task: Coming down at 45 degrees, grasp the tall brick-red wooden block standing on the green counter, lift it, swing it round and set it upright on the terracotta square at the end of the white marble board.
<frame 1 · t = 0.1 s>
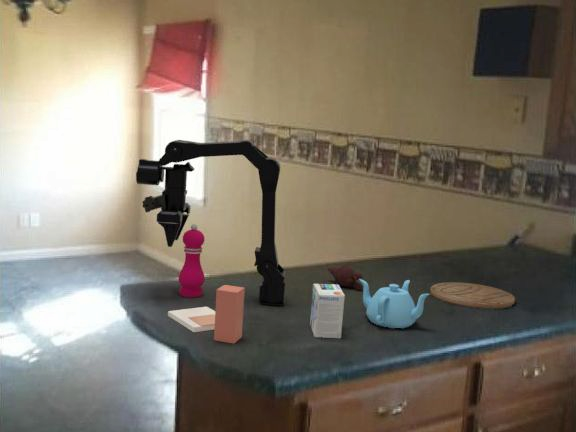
hand: (172, 243, 199), 15 cm above the worktop, tool pointing down, fingers open, 9 cm apart
trivet: (471, 299, 222), on the worktop
pepper mill: (190, 295, 204), on the worktop
maroon lumpy piece: (343, 286, 225), on the worktop
board: (200, 321, 180), on the worktop
teapot: (392, 322, 191), on the worktop
light bulb box: (325, 332, 180), on the worktop
block: (227, 338, 169), on the worktop
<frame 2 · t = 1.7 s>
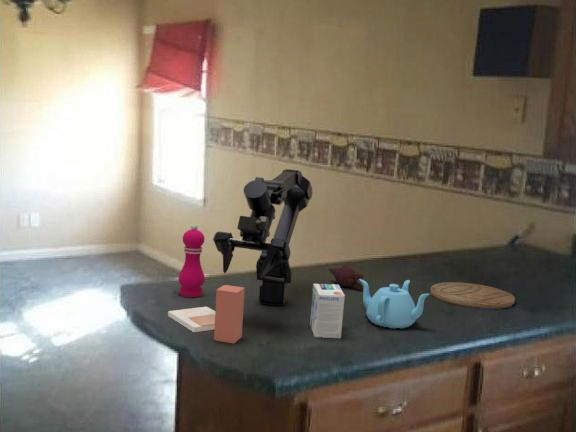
hand: (242, 274, 175), 13 cm above the worktop, tool tilted 45°, fingers open, 9 cm apart
nothing on the worktop moved.
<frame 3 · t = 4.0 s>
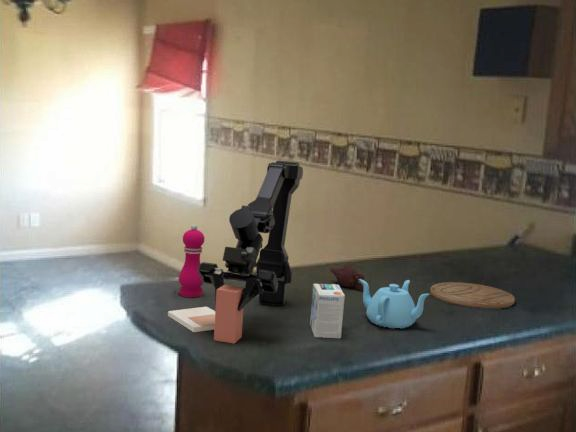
hand: (227, 308, 167), 8 cm above the worktop, tool tilted 45°, fingers closed on block, 5 cm apart
block: (227, 338, 169), on the worktop, touching gripper
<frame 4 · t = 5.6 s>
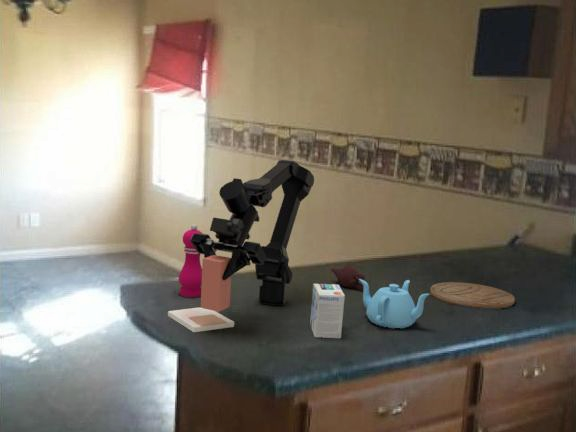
hand: (213, 277, 171), 13 cm above the worktop, tool tilted 45°, fingers closed on block, 5 cm apart
block: (215, 307, 174), point 6 cm above the worktop, touching gripper
everything else where it was.
when the fingers open (10 cm above the worktop, at t = 6.9 s): block stays where it is, resting on board.
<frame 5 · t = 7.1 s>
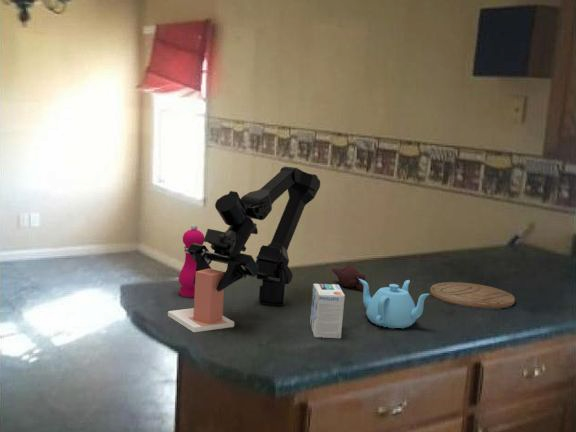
hand: (205, 287, 175), 10 cm above the worktop, tool tilted 45°, fingers open, 7 cm apart
block: (207, 319, 177), point 1 cm above the worktop, touching board
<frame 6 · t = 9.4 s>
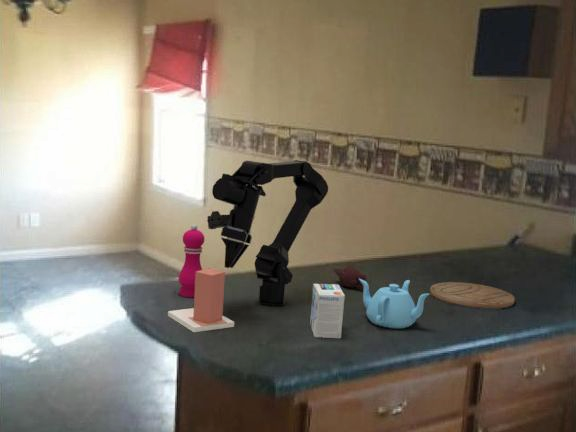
hand: (228, 267, 186), 12 cm above the worktop, tool tilted 15°, fingers open, 9 cm apart
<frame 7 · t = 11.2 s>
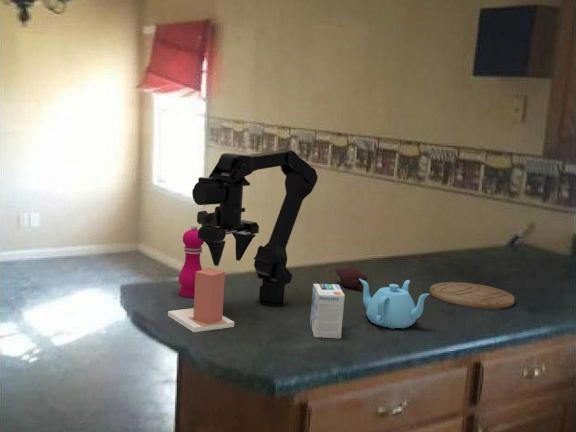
hand: (227, 263, 188), 13 cm above the worktop, tool pointing down, fingers open, 9 cm apart
at the end: block inside the target area (0.0 cm from its centre), point 1.4 cm above the worktop; block tilted 0°; the gripper is holding nothing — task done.
